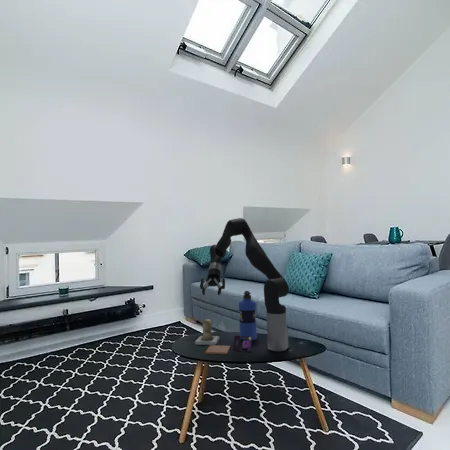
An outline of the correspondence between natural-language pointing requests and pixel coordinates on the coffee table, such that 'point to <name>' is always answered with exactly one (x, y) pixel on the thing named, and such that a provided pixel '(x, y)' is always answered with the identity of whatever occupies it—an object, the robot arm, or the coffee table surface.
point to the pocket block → (213, 342)
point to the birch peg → (207, 330)
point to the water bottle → (247, 317)
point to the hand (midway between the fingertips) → (211, 294)
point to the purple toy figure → (245, 343)
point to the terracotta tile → (217, 349)
